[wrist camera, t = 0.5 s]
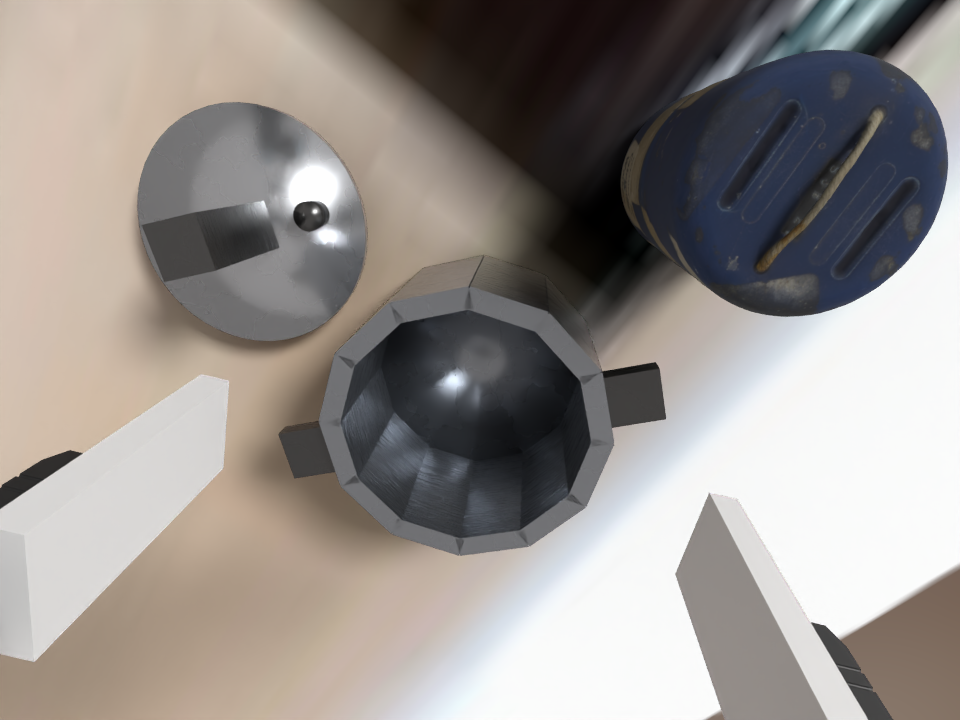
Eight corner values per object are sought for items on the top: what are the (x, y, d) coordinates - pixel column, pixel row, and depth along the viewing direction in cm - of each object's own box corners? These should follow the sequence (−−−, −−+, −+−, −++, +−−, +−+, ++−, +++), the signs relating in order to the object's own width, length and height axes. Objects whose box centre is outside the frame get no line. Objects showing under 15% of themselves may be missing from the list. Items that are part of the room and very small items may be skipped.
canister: (806, 176, 36) (1054, 193, 19) (683, 284, 38) (803, 384, 21) (704, 57, 34) (875, -42, 17) (584, 179, 37) (628, 198, 20)
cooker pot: (303, 293, 41) (234, 333, 31) (617, 226, 37) (646, 250, 28) (366, 488, 46) (322, 573, 36) (649, 444, 42) (682, 526, 33)
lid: (127, 136, 38) (-15, 129, 28) (338, 79, 36) (264, 50, 26) (208, 347, 43) (110, 404, 33) (400, 308, 41) (357, 357, 31)
